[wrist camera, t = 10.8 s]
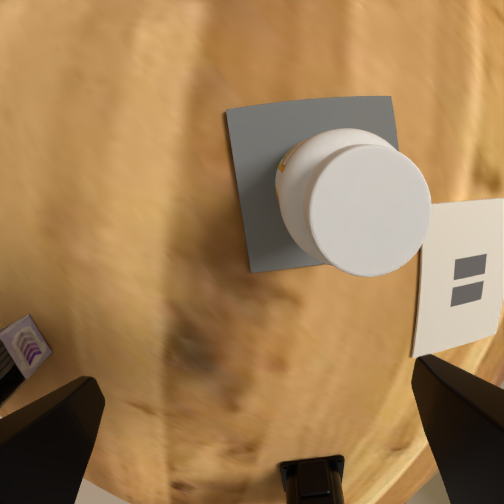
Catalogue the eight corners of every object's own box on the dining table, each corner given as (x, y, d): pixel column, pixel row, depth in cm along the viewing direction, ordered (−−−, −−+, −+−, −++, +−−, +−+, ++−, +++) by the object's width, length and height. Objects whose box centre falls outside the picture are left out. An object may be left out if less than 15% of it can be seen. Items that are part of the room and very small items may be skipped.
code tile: (494, 332, 21) (496, 334, 20) (411, 356, 22) (412, 358, 21) (511, 196, 17) (513, 197, 17) (420, 204, 18) (422, 205, 18)
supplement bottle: (354, 235, 19) (423, 308, 9) (267, 219, 19) (266, 285, 9) (372, 149, 17) (465, 150, 8) (283, 128, 17) (301, 99, 8)
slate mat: (401, 251, 19) (403, 252, 19) (251, 270, 20) (251, 273, 20) (388, 97, 16) (391, 96, 16) (226, 110, 17) (225, 109, 17)
